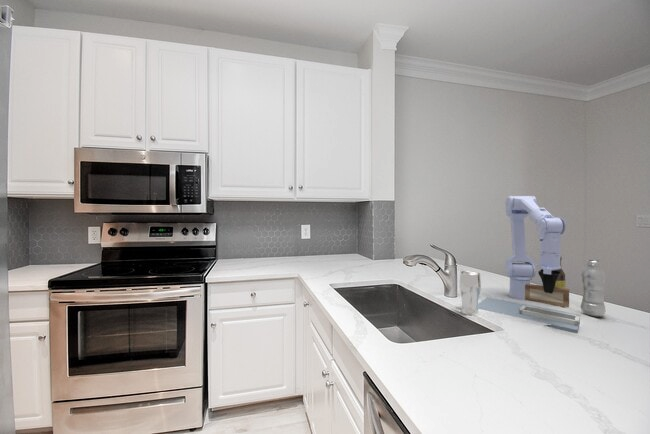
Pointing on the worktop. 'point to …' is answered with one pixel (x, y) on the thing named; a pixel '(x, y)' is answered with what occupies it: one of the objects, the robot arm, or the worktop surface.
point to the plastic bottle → (593, 289)
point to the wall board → (533, 313)
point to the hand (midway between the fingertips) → (549, 291)
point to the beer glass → (470, 291)
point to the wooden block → (547, 295)
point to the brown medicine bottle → (561, 279)
